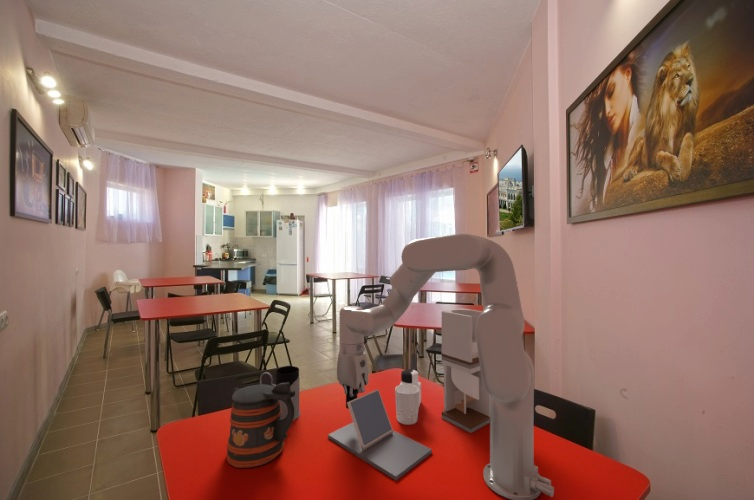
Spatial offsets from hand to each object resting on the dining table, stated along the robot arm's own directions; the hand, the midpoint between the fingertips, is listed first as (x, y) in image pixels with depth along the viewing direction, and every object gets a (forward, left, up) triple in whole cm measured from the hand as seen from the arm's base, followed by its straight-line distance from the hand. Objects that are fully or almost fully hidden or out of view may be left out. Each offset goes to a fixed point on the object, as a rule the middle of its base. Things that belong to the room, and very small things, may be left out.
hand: (351, 407), depth 100 cm
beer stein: (+9, +24, -7) cm, 27 cm away
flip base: (-11, 0, -7) cm, 13 cm away
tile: (-8, 0, -1) cm, 8 cm away
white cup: (-8, -17, -7) cm, 20 cm away
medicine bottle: (-2, -26, -7) cm, 27 cm away
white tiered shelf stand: (-22, -30, -7) cm, 38 cm away
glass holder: (+25, +10, -7) cm, 28 cm away
